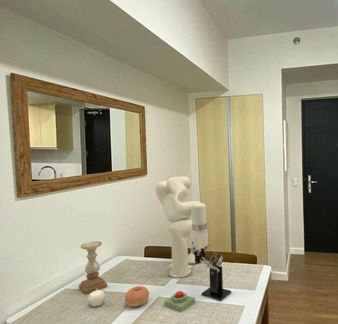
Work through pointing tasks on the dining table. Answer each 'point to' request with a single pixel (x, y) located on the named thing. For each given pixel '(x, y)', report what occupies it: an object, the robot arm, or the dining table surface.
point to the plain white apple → (96, 297)
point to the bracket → (216, 285)
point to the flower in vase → (191, 257)
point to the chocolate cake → (215, 259)
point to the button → (179, 294)
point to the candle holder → (92, 270)
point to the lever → (207, 262)
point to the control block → (179, 302)
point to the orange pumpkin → (137, 296)
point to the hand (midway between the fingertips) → (200, 261)
